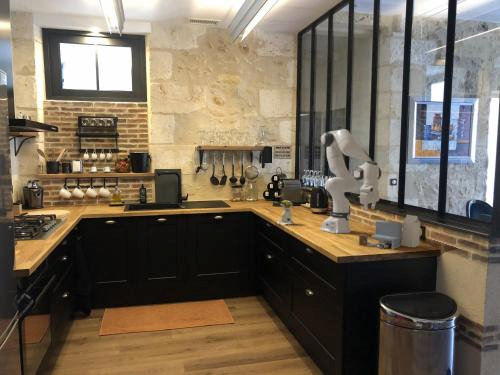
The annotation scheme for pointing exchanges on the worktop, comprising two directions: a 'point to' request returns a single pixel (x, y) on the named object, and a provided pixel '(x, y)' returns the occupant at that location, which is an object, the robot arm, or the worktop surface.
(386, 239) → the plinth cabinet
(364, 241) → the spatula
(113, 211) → the worktop surface
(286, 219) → the potted plant
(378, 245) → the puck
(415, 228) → the milk carton
